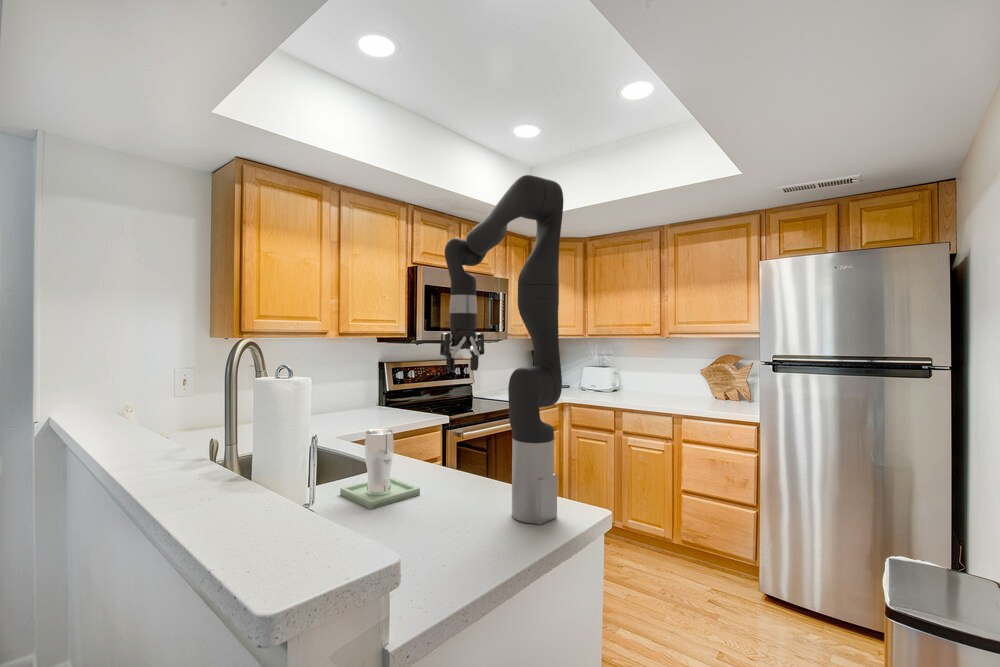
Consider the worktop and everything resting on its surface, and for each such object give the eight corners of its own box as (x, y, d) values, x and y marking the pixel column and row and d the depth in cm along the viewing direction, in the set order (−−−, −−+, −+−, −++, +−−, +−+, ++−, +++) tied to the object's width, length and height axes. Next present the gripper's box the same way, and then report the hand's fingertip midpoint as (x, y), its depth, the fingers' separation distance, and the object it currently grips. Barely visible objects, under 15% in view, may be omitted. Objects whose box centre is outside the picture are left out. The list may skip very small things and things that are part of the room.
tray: (419, 494, 119) (420, 488, 119) (370, 509, 109) (370, 502, 109) (388, 482, 129) (388, 476, 129) (340, 494, 119) (340, 488, 119)
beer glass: (358, 494, 116) (359, 433, 116) (374, 486, 123) (375, 428, 123) (383, 497, 114) (384, 435, 114) (398, 489, 121) (399, 430, 121)
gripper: (452, 310, 123) (452, 373, 123) (491, 312, 133) (490, 370, 133) (434, 311, 128) (433, 371, 128) (472, 313, 138) (472, 369, 138)
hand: (462, 371), depth 131 cm, fingers open, 8 cm apart
